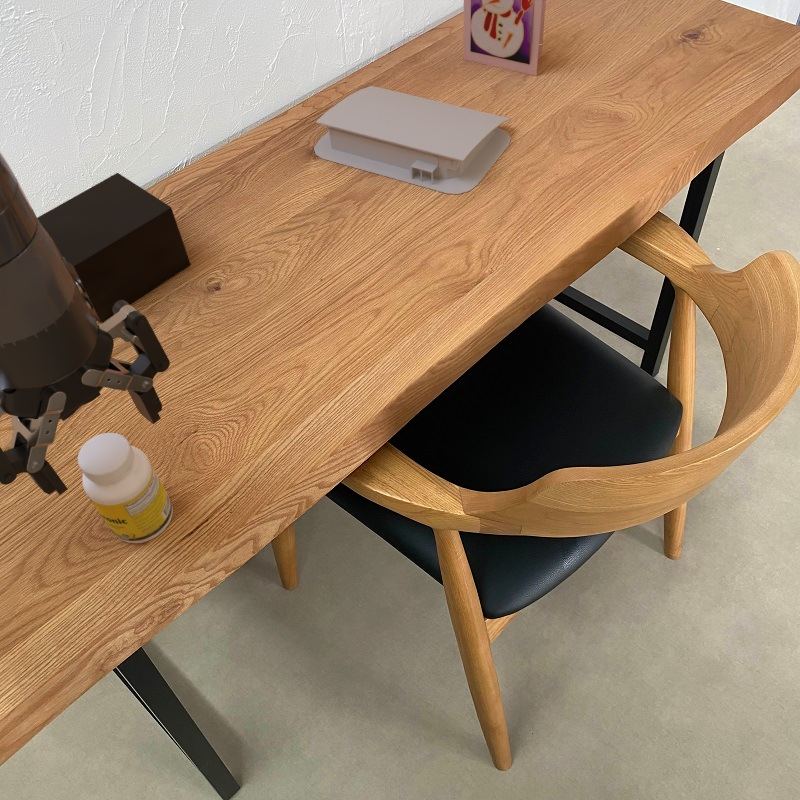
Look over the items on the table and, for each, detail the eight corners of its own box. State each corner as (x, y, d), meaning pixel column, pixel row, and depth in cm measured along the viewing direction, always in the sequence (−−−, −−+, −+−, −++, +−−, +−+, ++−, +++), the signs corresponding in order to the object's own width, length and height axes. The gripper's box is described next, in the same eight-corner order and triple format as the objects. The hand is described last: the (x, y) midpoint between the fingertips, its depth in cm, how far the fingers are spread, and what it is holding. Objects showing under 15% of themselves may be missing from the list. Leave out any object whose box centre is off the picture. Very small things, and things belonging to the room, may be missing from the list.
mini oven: (95, 327, 84) (66, 270, 78) (45, 287, 89) (14, 229, 83) (191, 265, 90) (171, 206, 83) (140, 229, 94) (117, 172, 88)
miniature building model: (466, 199, 94) (466, 170, 91) (305, 153, 102) (300, 126, 99) (518, 132, 102) (520, 104, 99) (365, 95, 110) (363, 68, 107)
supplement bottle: (99, 520, 69) (54, 454, 61) (150, 480, 71) (113, 412, 63) (135, 557, 66) (93, 493, 59) (187, 515, 69) (153, 448, 61)
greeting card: (460, 62, 115) (460, -49, 103) (483, 39, 119) (486, -71, 107) (533, 78, 111) (542, -36, 99) (555, 54, 115) (565, -58, 103)
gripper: (77, 215, 53) (151, 373, 66) (-127, 334, 47) (-2, 483, 60) (141, 261, 50) (207, 419, 62) (-69, 396, 44) (51, 541, 56)
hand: (105, 450), depth 61 cm, fingers open, 8 cm apart
